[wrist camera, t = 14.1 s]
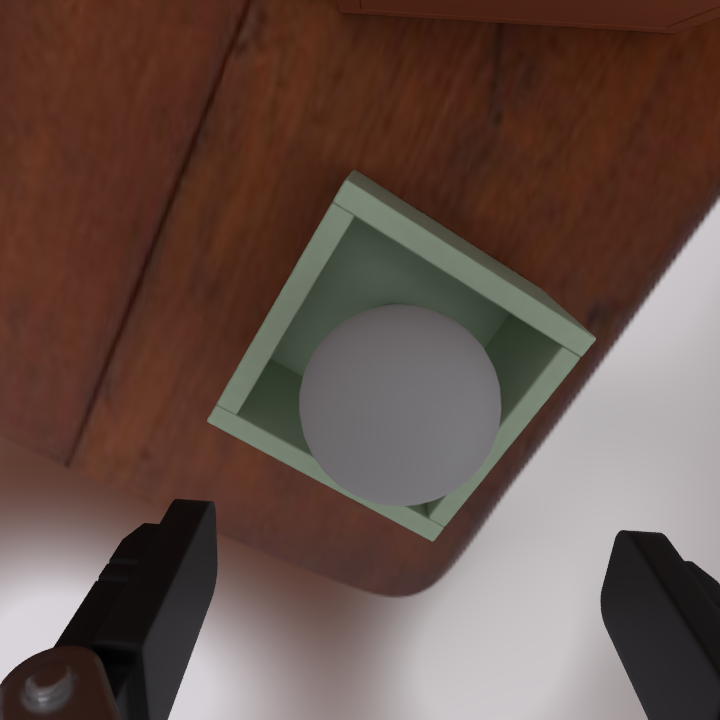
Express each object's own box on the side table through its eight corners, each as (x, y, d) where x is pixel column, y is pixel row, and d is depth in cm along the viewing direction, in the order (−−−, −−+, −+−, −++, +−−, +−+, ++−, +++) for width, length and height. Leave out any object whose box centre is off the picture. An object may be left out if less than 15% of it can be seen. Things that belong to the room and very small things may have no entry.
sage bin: (353, 168, 24) (345, 178, 17) (541, 289, 25) (597, 338, 19) (246, 355, 27) (205, 421, 20) (420, 452, 28) (433, 543, 22)
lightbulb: (429, 231, 24) (470, 301, 13) (483, 358, 26) (555, 504, 15) (297, 293, 25) (242, 401, 14) (358, 410, 27) (347, 579, 16)
